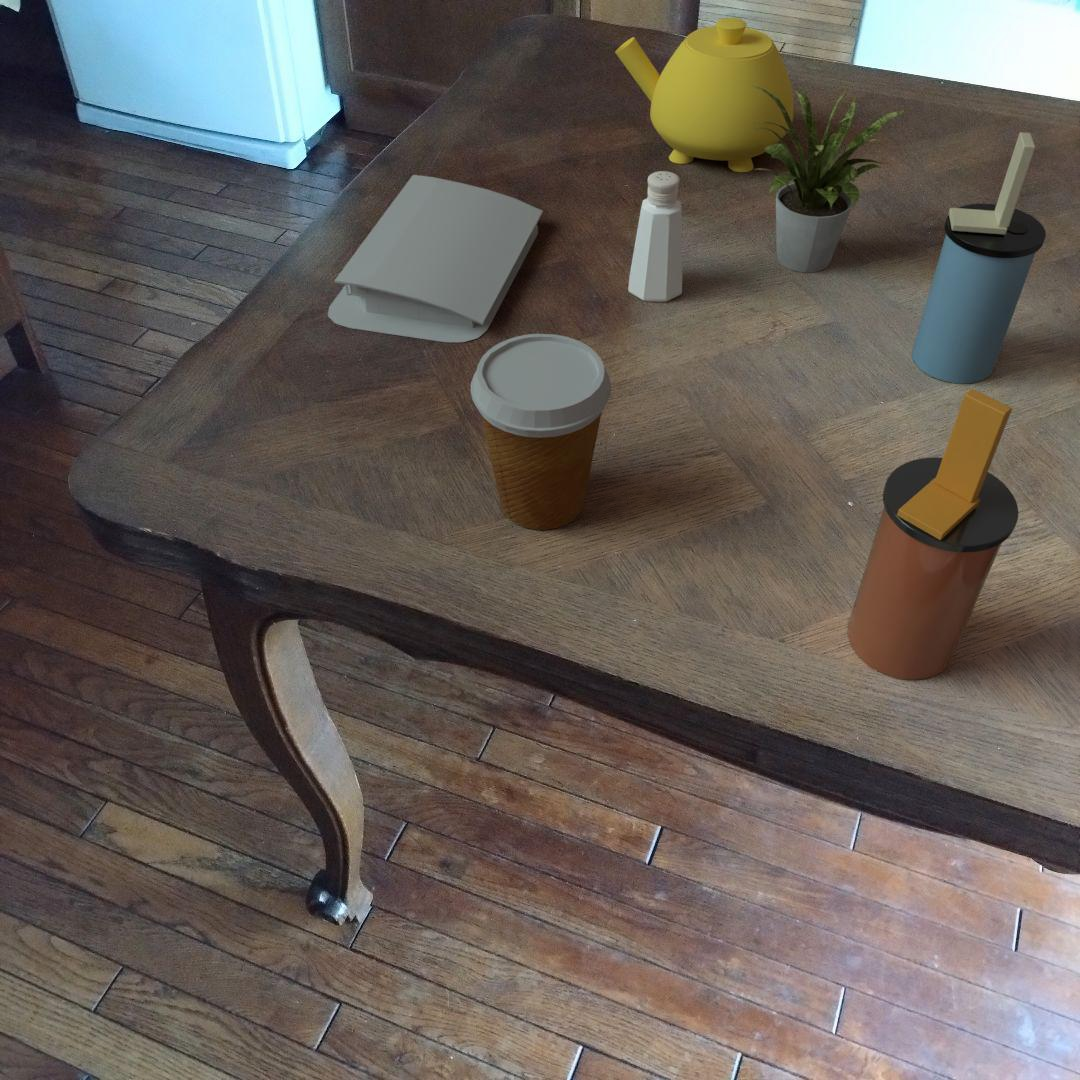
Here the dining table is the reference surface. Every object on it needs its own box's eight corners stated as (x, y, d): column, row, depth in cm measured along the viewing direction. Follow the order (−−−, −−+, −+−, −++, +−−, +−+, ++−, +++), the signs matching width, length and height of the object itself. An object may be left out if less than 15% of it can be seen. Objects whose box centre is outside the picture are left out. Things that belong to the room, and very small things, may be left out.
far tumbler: (991, 339, 93) (1038, 206, 84) (1002, 390, 88) (1053, 254, 79) (905, 331, 94) (942, 199, 85) (910, 381, 89) (951, 246, 80)
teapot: (593, 164, 117) (597, 35, 108) (630, 107, 128) (636, -15, 118) (774, 190, 113) (794, 58, 103) (797, 129, 123) (817, 3, 113)
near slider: (935, 481, 62) (968, 385, 57) (979, 504, 60) (1016, 409, 55) (896, 515, 60) (927, 420, 55) (940, 540, 58) (976, 444, 53)
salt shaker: (640, 266, 102) (648, 157, 94) (693, 280, 100) (704, 170, 93) (616, 294, 99) (622, 183, 91) (670, 309, 97) (680, 197, 89)
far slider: (1002, 217, 83) (1030, 131, 78) (1007, 235, 81) (1036, 148, 76) (948, 213, 84) (972, 127, 79) (951, 230, 82) (977, 144, 77)
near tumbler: (883, 580, 73) (929, 439, 64) (980, 639, 70) (1043, 498, 61) (820, 638, 70) (859, 497, 61) (918, 703, 66) (976, 565, 57)
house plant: (690, 267, 102) (707, 98, 90) (754, 208, 110) (777, 45, 98) (828, 313, 96) (866, 139, 85) (885, 247, 104) (927, 79, 93)
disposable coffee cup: (457, 526, 78) (445, 395, 69) (509, 447, 84) (503, 318, 75) (579, 560, 75) (582, 429, 66) (623, 476, 81) (631, 346, 73)
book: (317, 323, 96) (310, 285, 93) (405, 202, 112) (401, 167, 109) (479, 347, 93) (476, 309, 90) (545, 220, 109) (545, 184, 106)
